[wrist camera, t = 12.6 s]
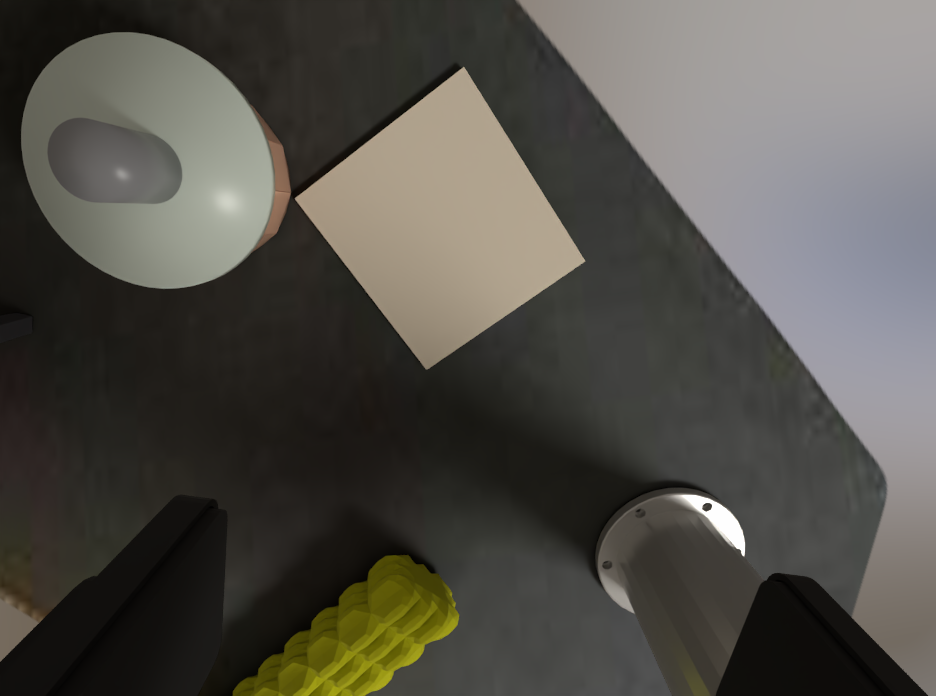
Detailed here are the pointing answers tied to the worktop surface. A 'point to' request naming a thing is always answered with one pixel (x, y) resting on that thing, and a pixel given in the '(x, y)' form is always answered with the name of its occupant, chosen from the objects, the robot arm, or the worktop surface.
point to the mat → (442, 222)
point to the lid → (147, 160)
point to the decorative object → (361, 635)
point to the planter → (14, 326)
